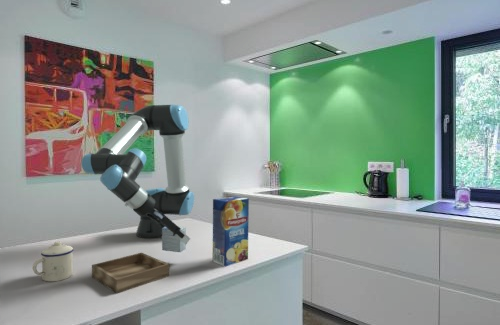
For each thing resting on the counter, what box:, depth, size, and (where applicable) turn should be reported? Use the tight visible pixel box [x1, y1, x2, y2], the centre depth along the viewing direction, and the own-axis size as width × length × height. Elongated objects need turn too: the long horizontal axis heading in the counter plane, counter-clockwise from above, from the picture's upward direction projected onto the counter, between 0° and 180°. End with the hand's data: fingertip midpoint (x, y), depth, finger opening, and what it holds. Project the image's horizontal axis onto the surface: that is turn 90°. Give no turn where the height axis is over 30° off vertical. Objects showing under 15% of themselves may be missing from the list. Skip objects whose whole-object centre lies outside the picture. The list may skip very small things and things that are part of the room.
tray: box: [91, 252, 170, 294], centre depth 106 cm, size 18×18×4 cm
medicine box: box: [161, 225, 187, 253], centre depth 119 cm, size 8×4×9 cm, turn 71°
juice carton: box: [212, 196, 250, 267], centre depth 122 cm, size 12×8×24 cm, turn 134°
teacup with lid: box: [32, 240, 74, 282], centre depth 103 cm, size 12×9×12 cm
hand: (181, 238), depth 121 cm, fingers closed on medicine box, 9 cm apart
